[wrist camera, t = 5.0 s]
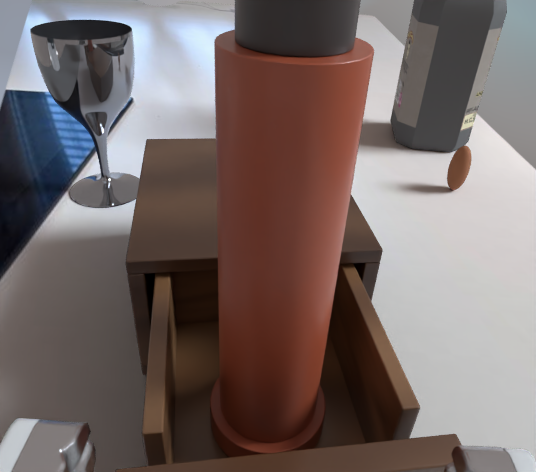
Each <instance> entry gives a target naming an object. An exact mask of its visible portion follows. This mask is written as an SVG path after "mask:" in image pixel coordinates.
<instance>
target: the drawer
mask: <svg viewBox="0 0 536 472" xmlns="http://www.w3.org/2000/svg"><path fill="white" fill-rule="evenodd" d="M219 376H220V365H219V300H218V270H205V271H184V272H164V273H155V283H154V295H153V307H152V318H151V330H150V342H149V354H148V365H147V377H146V389H145V401H144V412H143V424H142V438H143V444H144V450H145V456H146V462H147V466H143V467H134V468H124V469H117V470H115V472H443V471H444V469H445V466H446V465H448V464H449V463H451V462H453V459H452V455H451V453H452V451H453V449H454V447H456V446H462V445H461V443H460V441H459V439H458V437H457V435H456V434H449V435H439V436H430V437H420V438H411V439H409V438H410V435H411V432H412V429H413V426H414V424H415V421H416V418H417V415H418V413H419V410H420V405H419V403H418V401H417V399H416V397H415V395H414V393H413V390H412V388H411V386H410V384H409V382H408V380H407V378H406V375H405V373H404V371H403V369H402V367H401V365H400V363H399V360H398V358H397V356H396V354H395V352H394V350H393V348H392V345H391V343H390V341H389V339H388V337H387V335H386V333H385V330H384V328H383V326H382V324H381V322H380V320H379V317H378V315H377V313H376V311H375V309H374V307H373V305H372V302H371V300H370V298H369V296H368V294H367V292H366V290H365V287H364V285H363V283H362V281H361V279H360V277H359V275H358V272H357V270H356V268H355V266H354V264H353V263H346V264H339V268H338V274H337V281H336V287H335V293H334V299H333V305H332V311H331V317H330V323H329V329H328V335H327V342H326V348H325V354H324V360H323V366H322V372H321V378H320V386H321V388H322V391H323V393H324V397H325V403H326V410H325V417H324V423H323V428H322V433H321V436H320V439H319V441H318V443H317V445H316V447H315V448H314V449H306V450H296V451H286V452H277V453H267V454H258V455H248V456H239V457H229V456H227V455H226V454H225V453H224V452H223V450H222V449H221V448H220V447H219V445H218V444H217V442H216V440H215V438H214V436H213V433H212V429H211V421H210V397H211V392H212V389H213V386H214V384H215V382H216V381H217V379H218V378H219Z"/></svg>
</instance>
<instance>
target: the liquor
mask: <svg viewBox="0 0 536 472" xmlns="http://www.w3.org/2000/svg"><path fill="white" fill-rule="evenodd" d="M506 13H507V6H506V0H414V4H413V9H412V15H411V20H410V24H409V30H408V35H407V40H406V45H405V50H404V55H403V60H402V65H401V70H400V75H399V80H398V85H397V90H396V95H395V100H394V105H393V110H392V116H391V125H392V128H393V132H394V135H395V139H396V142H397V143H400V144H402V145H404V146H407V147H409V148H411V149H421V150H432V151H444V152H452V151H455V150H457V149H459V148H460V147H462V146H464V145H465V144H466V143H467V142H468V140H469V137H470V133H471V130H472V127H473V123H474V120H475V117H476V113H477V110H478V107H479V103H480V100H481V97H482V93H483V90H484V87H485V83H486V80H487V77H488V73H489V70H490V67H491V63H492V60H493V56H494V53H495V50H496V47H497V43H498V40H499V37H500V33H501V30H502V27H503V23H504V20H505V17H506Z"/></svg>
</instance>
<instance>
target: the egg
mask: <svg viewBox="0 0 536 472" xmlns="http://www.w3.org/2000/svg"><path fill="white" fill-rule="evenodd" d="M470 165H471V151H470V149H469V148H468V147H467V146H462V147H460V148H459V149H458V150H457V151H456V153H455V154H454V156H453V158H452V160H451V162H450V165H449V169H448V175H447V181H448V185H449V187H450V189H452V190H456V189H458V188H459V187H460V186H461V185H462V184H463V183H464V181H465V179H466V177H467V175H468V172H469V169H470Z"/></svg>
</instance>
